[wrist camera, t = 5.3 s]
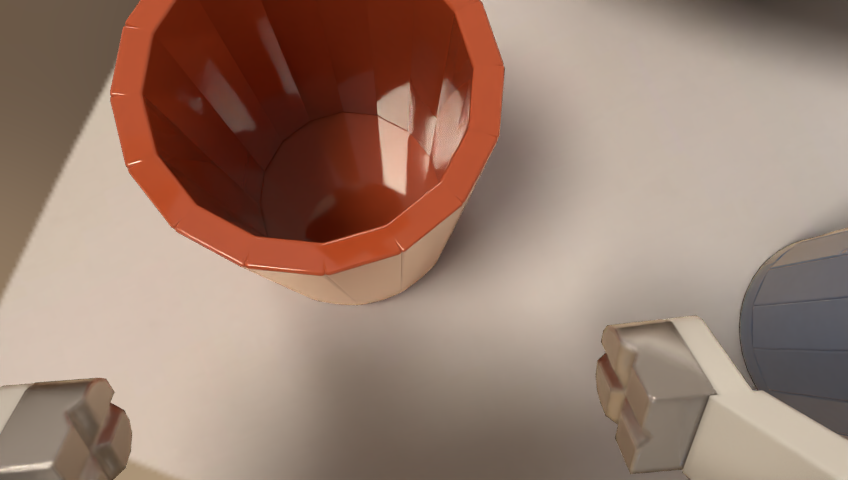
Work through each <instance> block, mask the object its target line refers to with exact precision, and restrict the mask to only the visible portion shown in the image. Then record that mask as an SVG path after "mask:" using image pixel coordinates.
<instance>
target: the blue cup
mask: <svg viewBox="0 0 848 480" xmlns="http://www.w3.org/2000/svg"><path fill="white" fill-rule="evenodd" d="M739 328H740V342H741V348H742V353H743V357H744V360H745V363H746V367H747V369H748V371H749V374H750V376H751V378H752V380H753V382H754V384H755V386H756V387H757V389H758V390H763V391H765V392H766V393H768V394H770V395H771V396H773V397H775V398H776V399H778V400H780V401H782V402H783V403H785V404H787V405H788V406H790V407H792V408H794V409H795V410H797V411H799V412H800V413H802V414H804V415H806V416H807V417H809V418H811V419H812V420H814V421H816V422H817V423H819V424H821V425H823V426H824V427H826V428H828V429H829V430H831V431H833V432H835V433H836V434H838V435H840V436H841V437H843V438H845V439H846V440H848V228H845V229H841V230H837V231H833V232H829V233H826V234H823V235H820V236H817V237H813V238H809V239H805V240H801V241H798V242H796V243H793V244H791V245H788V246H787V247H785V248H783V249H781V250H780V251H778V252H777V253H776V254H774V255H773V256H772V257H771V258H769V259H768V260H767V261H766V262H765V263H764V265H763V266H762V267H761V268H760V269H759V271H758V272H757V273H756V275H755V276H754V278H753V279H752V281H751V283H750V285H749V287H748V289H747V292H746V294H745V297H744V300H743V304H742V309H741V314H740V327H739Z"/></svg>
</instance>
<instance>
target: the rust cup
mask: <svg viewBox="0 0 848 480" xmlns="http://www.w3.org/2000/svg"><path fill="white" fill-rule="evenodd" d="M125 25H126V26H124V27H123V30H122V35H121V40H120V45H119V50H118V55H117V60H116V65H115V70H114V75H113V80H112V85H111V90H110V95H111V98H110V101H111V105H112V110H113V114H114V118H115V122H116V127H117V131H118V135H119V139H120V143H121V148H122V152H123V156H124V160H125V165H126V167H127V168H128V171H129V173H130V175H131V176H132V177H133V179H134V180H135V181H136V182H137V184H138V185H139V186H140V188H141V189H142V190H143V191H144V193H145V194H146V195H147V197H148V198H149V199H150V200H151V202H152V203H153V204H154V206H155V207H156V208H157V209H158V211H159V212H160V213H161V215H162V216H163V217H164V218H165V220H166V221H167V222H168V224H169V225H170V226H171V227H172V228H173V229H175V230H176V232H177V233H179V234H181V235H183V236H185V237H187V238H189V239H190V240H192V241H194V242H196V243H198V244H200V245H201V246H203V247H205V248H207V249H209V250H211V251H213V252H214V253H216V254H218V255H220V256H222V257H224V258H226V259H227V260H229V261H231V262H233V263H235V264H237V265H238V266H240V267H242V268H245V269H247V270H249V271H251V272H253V273H256V274H258V275H260V276H262V277H264V278H267V279H269V280H271V281H273V282H275V283H278V284H280V285H282V286H284V287H286V288H289V289H291V290H293V291H295V292H297V293H300V294H302V295H304V296H306V297H308V298H311V299H313V300H316V301H319V302H327V303H333V304H339V305H363V304H369V303H373V302H378V301H382V300H384V299H387V298H390V297H392V296H395V295H397V294H399V293H400V292H403V291H404V290H406V289H408V288H409V287H410V286H412V285H413V284H415V283H416V282H417V281H418V280H419V279H421V278H422V277H423V276H424V275H425V274H426V273H427V272H428V271H429V270H430V269H431V268H432V267H434V265H435V264H436V262H437V260H438V258H439V256H440V255H441V253H442V251H443V249H444V247H445V245H446V243H447V241H448V240H449V238H450V236H451V234H452V232H453V230H454V228H455V226H456V224H457V222H458V220H459V218H460V216H461V214H462V212H463V210H464V208H465V206H466V204H467V202H468V200H469V198H470V196H471V194H472V192H473V190H474V188H475V186H476V184H477V182H478V180H479V178H480V176H481V174H482V172H483V170H484V168H485V166H486V164H487V162H488V160H489V158H490V156H491V154H492V152H493V150H494V148H495V146H496V144H497V140H498V138H499V136H500V124H501V111H502V98H503V85H504V73H505V68H504V66H503V61H502V58H501V55H500V52H499V49H498V46H497V43H496V40H495V37H494V35H493V32H492V29H491V26H490V23H489V20H488V17H487V14H486V12H485V9H484V6H483V3H482V2H481V1H480V0H140V1H139V3H138V4H137V6H136V7H135V9H134V10H133V12H132V13H131V14H130V16H129V17H128V19H127V20H126V22H125Z"/></svg>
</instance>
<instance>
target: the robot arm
mask: <svg viewBox="0 0 848 480" xmlns="http://www.w3.org/2000/svg"><path fill="white" fill-rule="evenodd" d="M601 343H602V345H603V348H604V350H605V352H606V353H605V354H604V355H603V356H602V357H601V358H600V359H599V360H598V361H597V368H596V385H597V392H598V396H599V400H600V403H601V406H602V408H603V411H604V413H605V416H607V417H608V418H610V419H611V420H612V421H614V422H615V423H616V424H618V427H617V432H616V436H615V439H616V442H617V444H618V446H619V449H620V451H621V454H622V456H623V458H624V461H625V463H626V465H627V468H628V470H629V472H630V474H636V473H648V472H659V471H671V470H682V469H683V471H682V473H683V474H685V475H686V476H687V477H688V478H689V479H690V480H848V440H846V439H845V438H843V437H841V436H840V435H838V434H836V433H835V432H833V431H831V430H829V429H828V428H826V427H824V426H823V425H821V424H819V423H817V422H816V421H814V420H812V419H811V418H809V417H807V416H806V415H804V414H802V413H800V412H799V411H797V410H795V409H794V408H792V407H790V406H788V405H787V404H785V403H783V402H782V401H780V400H778V399H776V398H775V397H773V396H771V395H770V394H768V393H766V392H765V391H763V390H759V391H753V390H752V389H751V387H750V386H749V384H748V383H747V382H746V380H745V379H744V377H743V376H742V375H741V373H740V372H739V370H738V369H737V367H736V366H735V365H734V363H733V362H732V360H731V359H730V358H729V356H728V355H727V353H726V352H725V350H724V349H723V348H722V346H721V345H720V343H719V342H718V341H717V339H716V338H715V336H714V335H713V334H712V332H711V331H710V329H709V328H708V326H707V325H706V324H705V322H704V321H703V319H701V318H699V317H698V316H687V317H678V318H669V319H665V320H664V319H659V320H650V321H641V322H632V323H623V324H615V325H607V326H606V328H605V329H604V331H603V335H602V340H601ZM113 395H114V390H113V389H112V387H111V386H110V384H109V382H108V381H107V379H104V378H89V379H76V380H63V381H50V382H37V383H31V384H19V385H6V386H2V387H0V480H113V479H114V478H116V476H118V475H119V473H121V472H122V471H123V470H124V469H125V468H126V465H127V462H128V458H129V455H130V452H131V442H132V430H131V425H130V421H129V418H128V416H127V415H126V413H125V411H124V410H123V409H121V408H119V407H118V406H116V405H114V404H112V403H110V402H111V400H112V397H113Z"/></svg>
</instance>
